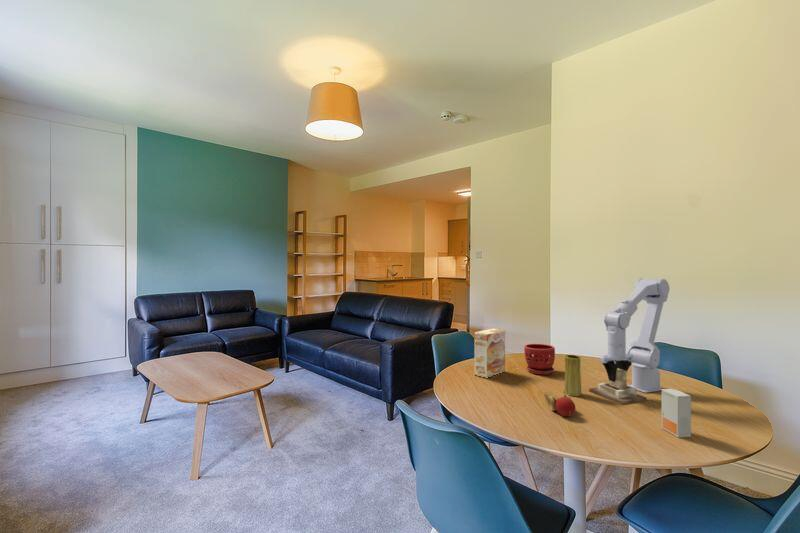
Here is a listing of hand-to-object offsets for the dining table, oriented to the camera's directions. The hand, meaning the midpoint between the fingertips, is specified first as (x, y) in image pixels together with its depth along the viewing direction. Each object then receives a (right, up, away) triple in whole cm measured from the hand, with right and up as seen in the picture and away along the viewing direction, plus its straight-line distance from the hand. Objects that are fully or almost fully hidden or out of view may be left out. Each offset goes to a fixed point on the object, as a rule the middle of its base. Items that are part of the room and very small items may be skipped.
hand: (616, 380), depth 135 cm
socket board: (0, -6, 0) cm, 6 cm away
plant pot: (-17, -6, +30) cm, 35 cm away
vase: (-15, -6, +2) cm, 17 cm away
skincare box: (-1, -6, -30) cm, 30 cm away
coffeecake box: (-41, -6, +28) cm, 50 cm away
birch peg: (0, -2, 0) cm, 2 cm away
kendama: (-27, -6, -11) cm, 30 cm away
